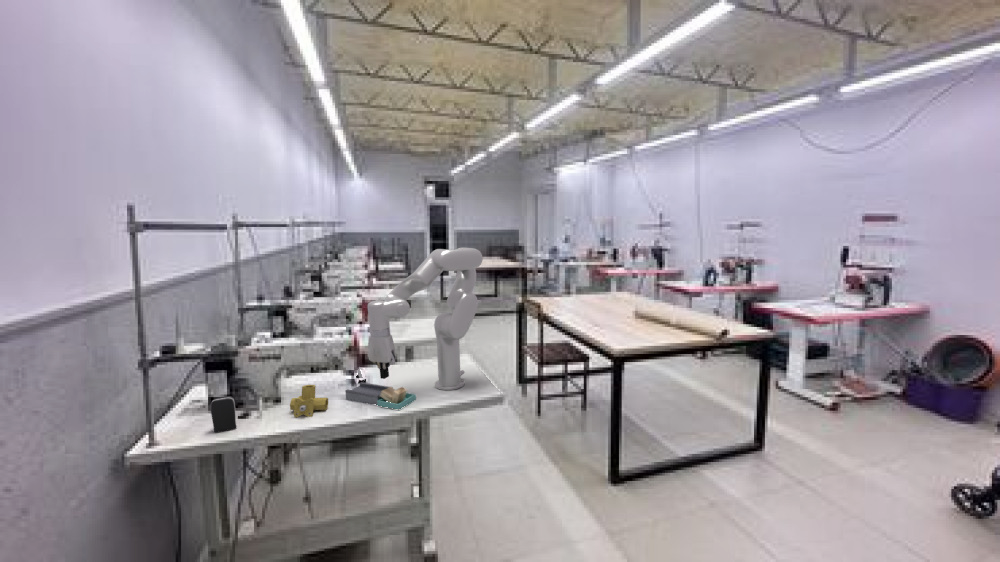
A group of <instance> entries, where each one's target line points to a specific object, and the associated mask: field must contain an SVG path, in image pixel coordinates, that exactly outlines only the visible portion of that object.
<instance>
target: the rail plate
mask: <svg viewBox="0 0 1000 562" xmlns="http://www.w3.org/2000/svg"><path fill="white" fill-rule="evenodd" d="M389 387H390V386H387V385H381V384H375V383H370V382H369V383H368V382H364V381H363V382H359V385H358V386H356V387H354V388H352V389H350V388H348V389H345V390H344V391H345V400H346V401H351V402H357V403H361V404H366V403H368V405H372V404H376V405H375V406H377V401H378V400H380V399H382V397H381V396H380V395H381V392H382V390H385V389H387V388H389ZM391 387H392V388H393V389H394V387H393V386H391Z"/></svg>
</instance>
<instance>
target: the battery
mask: <svg viewBox="0 0 1000 562" xmlns="http://www.w3.org/2000/svg"><path fill="white" fill-rule="evenodd" d="M210 415H211V420H212V426H213V433H221V431H222V432H226V430H227V431H230V430H231V429H232V430H235V428H236V429H237V419H236V402H235V398H234V397H233V396H231V395H229V396H221V397H216V398H214V399H213V400H212V401H211V403H210ZM232 430H231V431H232Z"/></svg>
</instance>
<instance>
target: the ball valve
mask: <svg viewBox="0 0 1000 562" xmlns="http://www.w3.org/2000/svg"><path fill="white" fill-rule="evenodd" d="M316 388H317V387H316V384H305V385H302V386H301V395H299V396H298V397H293V398H292V397H291V400H290V404H289V408H290V409H289V410H290V411H291V410H292V411H293V417H295V418H299V417H301V416H302V415H304V416H306V417H308V418H312V417H313V416H314V411H327V409H328V407H329V398H328V397H316Z"/></svg>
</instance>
